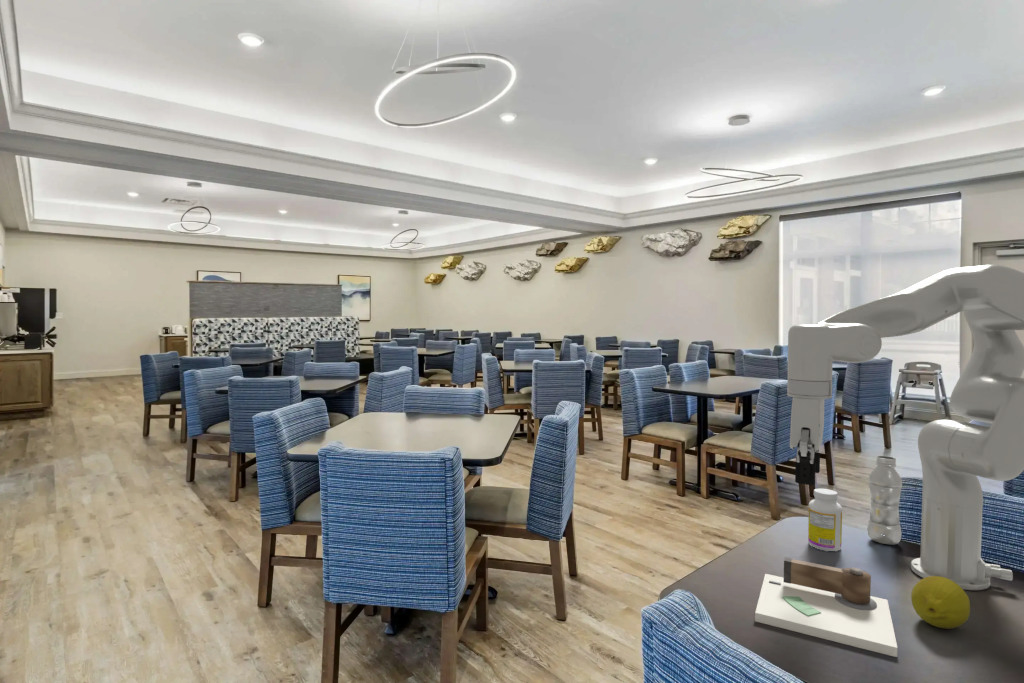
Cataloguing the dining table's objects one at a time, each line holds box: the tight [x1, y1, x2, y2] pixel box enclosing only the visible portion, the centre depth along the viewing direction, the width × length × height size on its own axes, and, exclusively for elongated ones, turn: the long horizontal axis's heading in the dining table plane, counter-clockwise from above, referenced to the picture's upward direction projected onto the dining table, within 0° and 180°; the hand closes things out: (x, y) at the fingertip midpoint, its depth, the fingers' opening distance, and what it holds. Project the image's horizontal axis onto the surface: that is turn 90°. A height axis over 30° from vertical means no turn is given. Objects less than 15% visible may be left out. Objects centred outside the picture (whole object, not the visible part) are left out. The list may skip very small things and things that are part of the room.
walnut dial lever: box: [783, 556, 872, 604], centre depth 101 cm, size 14×4×5 cm, turn 60°
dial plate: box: [754, 573, 898, 658], centre depth 97 cm, size 20×17×2 cm
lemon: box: [910, 576, 971, 630], centre depth 93 cm, size 11×8×8 cm
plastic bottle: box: [866, 455, 903, 545], centre depth 128 cm, size 6×7×20 cm
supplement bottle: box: [807, 488, 843, 552], centre depth 126 cm, size 7×7×13 cm
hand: (807, 477), depth 106 cm, fingers open, 9 cm apart
